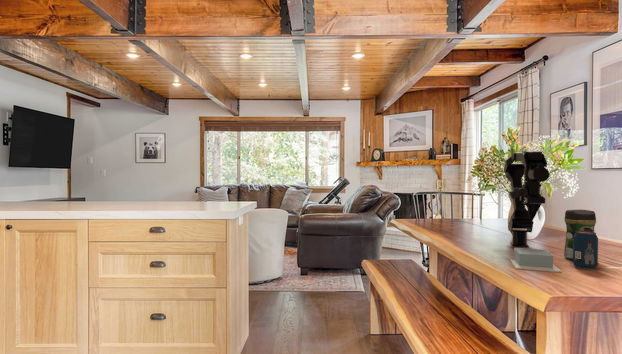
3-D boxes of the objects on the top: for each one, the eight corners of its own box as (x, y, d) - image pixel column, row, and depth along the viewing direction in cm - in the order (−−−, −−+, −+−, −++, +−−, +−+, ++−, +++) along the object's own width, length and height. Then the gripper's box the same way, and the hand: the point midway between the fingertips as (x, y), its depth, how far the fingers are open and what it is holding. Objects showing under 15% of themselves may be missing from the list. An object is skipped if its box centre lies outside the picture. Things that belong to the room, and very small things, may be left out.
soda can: (582, 264, 139) (583, 230, 139) (602, 269, 132) (603, 233, 132) (567, 265, 137) (568, 231, 137) (587, 270, 130) (588, 233, 130)
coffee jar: (586, 257, 151) (586, 208, 151) (600, 262, 144) (601, 210, 143) (559, 257, 152) (560, 208, 152) (572, 261, 144) (573, 210, 144)
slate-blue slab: (514, 247, 146) (519, 253, 134) (545, 249, 142) (553, 255, 131) (513, 258, 146) (519, 265, 134) (544, 260, 142) (553, 268, 131)
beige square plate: (510, 260, 144) (510, 259, 144) (551, 263, 140) (551, 262, 140) (516, 268, 131) (516, 267, 131) (561, 272, 127) (561, 271, 127)
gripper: (507, 181, 173) (506, 216, 173) (513, 181, 156) (512, 221, 156) (536, 181, 170) (535, 218, 170) (545, 181, 152) (545, 222, 152)
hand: (531, 219), depth 162 cm, fingers closed
